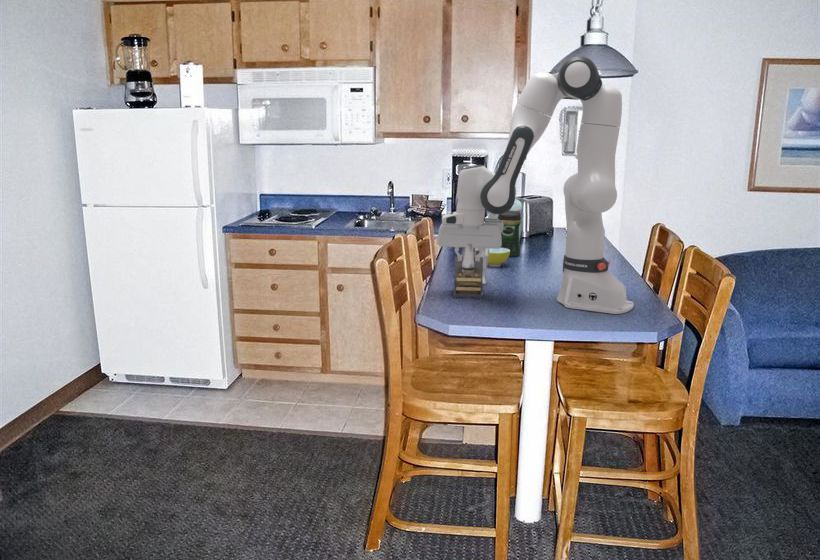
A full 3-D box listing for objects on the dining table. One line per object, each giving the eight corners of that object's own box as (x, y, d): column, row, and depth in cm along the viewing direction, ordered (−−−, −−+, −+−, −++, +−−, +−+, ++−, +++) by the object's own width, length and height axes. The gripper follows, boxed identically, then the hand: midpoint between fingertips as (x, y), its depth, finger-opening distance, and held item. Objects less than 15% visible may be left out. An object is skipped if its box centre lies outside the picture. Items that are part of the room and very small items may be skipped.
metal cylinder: (476, 280, 207) (478, 242, 204) (469, 282, 204) (471, 244, 201) (465, 278, 209) (467, 241, 207) (458, 280, 206) (460, 243, 203)
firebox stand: (482, 297, 203) (483, 263, 200) (453, 296, 204) (454, 262, 201) (481, 290, 212) (483, 257, 209) (454, 289, 212) (455, 256, 210)
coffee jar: (520, 254, 271) (522, 209, 267) (518, 257, 264) (521, 212, 259) (497, 252, 273) (499, 208, 269) (494, 256, 266) (496, 211, 262)
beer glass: (472, 286, 217) (473, 242, 214) (464, 281, 224) (466, 238, 220) (491, 285, 219) (493, 241, 215) (483, 280, 226) (485, 237, 222)
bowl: (475, 266, 246) (475, 250, 245) (486, 261, 256) (486, 246, 255) (503, 270, 241) (504, 253, 240) (513, 264, 251) (514, 248, 250)
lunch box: (483, 235, 315) (485, 191, 310) (504, 235, 317) (506, 191, 312) (501, 245, 289) (503, 197, 284) (523, 245, 291) (525, 197, 286)
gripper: (503, 217, 204) (501, 260, 207) (438, 215, 206) (437, 258, 209) (504, 220, 198) (502, 264, 201) (437, 218, 200) (436, 262, 203)
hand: (468, 261), depth 205 cm, fingers closed on metal cylinder, 4 cm apart
